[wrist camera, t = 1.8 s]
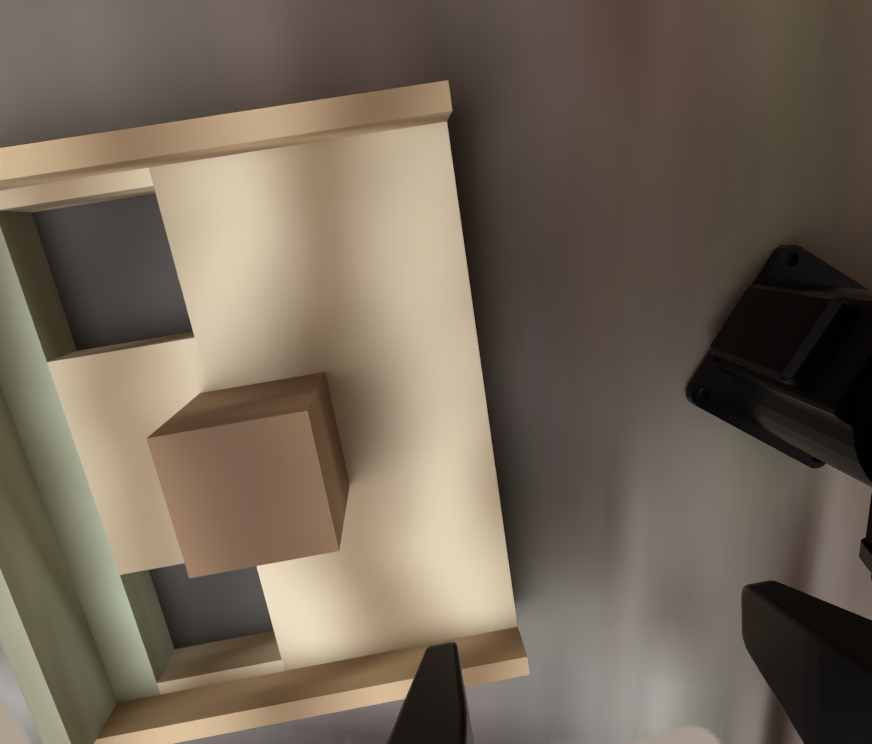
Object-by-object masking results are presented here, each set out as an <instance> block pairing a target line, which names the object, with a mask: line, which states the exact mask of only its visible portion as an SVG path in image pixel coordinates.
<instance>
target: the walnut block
mask: <svg viewBox="0 0 872 744" xmlns="http://www.w3.org/2000/svg"><path fill="white" fill-rule="evenodd" d="M146 439H147V442H148V445H149V449H150V452H151V455H152V458H153V462H154V465H155V468H156V472H157V475H158V478H159V481H160V485H161V488H162V491H163V494H164V498H165V501H166V504H167V507H168V511H169V514H170V517H171V520H172V524H173V527H174V530H175V533H176V537H177V540H178V543H179V546H180V550H181V553H182V556H183V559H184V563H185V566H186V569H187V573H188V576H189V578H194V577H200V576H205V575H211V574H216V573H222V572H227V571H233V570H238V569H244V568H249V567H254V566H260V565H265V564H271V563H276V562H282V561H287V560H293V559H298V558H304V557H309V556H315V555H320V554H326V553H331V552H337V551H339V549H340V543H341V537H342V531H343V525H344V518H345V512H346V506H347V500H348V493H349V487H350V484H349V480H348V475H347V470H346V465H345V461H344V456H343V451H342V447H341V442H340V437H339V433H338V428H337V423H336V419H335V414H334V409H333V405H332V400H331V395H330V390H329V386H328V381H327V376H326V372H321V373H315V374H310V375H304V376H298V377H292V378H286V379H280V380H274V381H268V382H263V383H257V384H251V385H245V386H239V387H233V388H227V389H221V390H216V391H210V392H204V393H199V394H198V395H197V396H196V397H195V398H193V399H192V400H191V401H190V402H189V403H188V404H186V405H185V406H184V407H183V408H182V409H180V410H179V411H178V412H177V413H176V414H175V415H173V416H172V417H171V418H170V419H169V420H167V421H166V422H165V423H164V424H163V425H162V426H160V427H159V428H158V429H157V430H156V431H154V432H153V433H152V434H151V435H150V436H149V437H147V438H146Z"/></svg>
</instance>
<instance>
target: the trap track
mask: <svg viewBox="0 0 872 744" xmlns="http://www.w3.org/2000/svg"><path fill="white" fill-rule="evenodd" d="M451 113H452V104H451V96H450V89H449V82H448V80H446V81H439V82H432V83H426V84H419V85H413V86H406V87H400V88H393V89H386V90H380V91H373V92H367V93H360V94H353V95H347V96H340V97H334V98H327V99H320V100H314V101H307V102H301V103H294V104H287V105H281V106H274V107H268V108H261V109H254V110H248V111H241V112H235V113H228V114H221V115H215V116H208V117H202V118H195V119H189V120H182V121H175V122H169V123H162V124H156V125H149V126H142V127H136V128H129V129H123V130H116V131H109V132H103V133H96V134H90V135H83V136H76V137H70V138H63V139H57V140H50V141H43V142H37V143H30V144H24V145H17V146H11V147H4V148H0V642H1V645H2V647H3V649H4V652H5V654H6V657H7V659H8V661H9V664H10V666H11V668H12V671H13V673H14V676H15V678H16V680H17V683H18V685H19V688H20V690H21V692H22V695H23V697H24V699H25V702H26V704H27V707H28V709H29V711H30V714H31V716H32V719H33V721H34V723H35V726H36V728H37V730H38V733H39V735H40V738H41V740H42V742H43V744H173V743H178V742H183V741H188V740H193V739H199V738H204V737H209V736H214V735H219V734H225V733H230V732H235V731H240V730H245V729H250V728H256V727H261V726H266V725H271V724H276V723H281V722H287V721H292V720H297V719H302V718H307V717H313V716H318V715H323V714H328V713H333V712H338V711H344V710H349V709H354V708H359V707H364V706H369V705H375V704H380V703H385V702H390V701H395V700H401V699H405V698H406V696H407V693H408V691H409V688H410V686H411V684H412V681H413V679H414V676H415V674H416V672H417V669H418V667H419V664H420V662H421V660H422V657H423V655H424V652H425V650H426V648H427V647H428V646H430V645H433V644H438V643H443V642H449V641H454V642H455V643H456V644H457V646H458V652H459V658H460V663H461V669H462V675H463V681H464V686H465V687H468V686H473V685H478V684H483V683H489V682H494V681H499V680H504V679H509V678H514V677H520V676H525V675H530V674H529V667H528V659H527V655H526V652H525V648H524V645H523V642H522V639H521V636H520V633H519V630H518V626H517V619H516V612H515V605H514V598H513V590H512V583H511V576H510V569H509V562H508V555H507V548H506V540H505V533H504V526H503V519H502V512H501V505H500V497H499V490H498V483H497V476H496V469H495V462H494V455H493V447H492V440H491V433H490V426H489V419H488V412H487V404H486V397H485V390H484V383H483V376H482V369H481V361H480V354H479V347H478V340H477V333H476V326H475V319H474V311H473V304H472V297H471V290H470V283H469V276H468V268H467V261H466V254H465V247H464V240H463V233H462V226H461V218H460V211H459V204H458V197H457V190H456V183H455V175H454V168H453V161H452V154H451V147H450V140H449V132H448V125H447V121H448V119H449V117H450V115H451ZM321 372H326V376H327V381H328V386H329V390H330V395H331V400H332V405H333V409H334V414H335V419H336V423H337V428H338V433H339V437H340V442H341V447H342V451H343V456H344V461H345V465H346V470H347V475H348V480H349V484H350V487H349V493H348V500H347V506H346V512H345V518H344V525H343V531H342V537H341V543H340V549H339V551H337V552H331V553H326V554H320V555H315V556H309V557H304V558H298V559H293V560H287V561H282V562H276V563H271V564H265V565H260V566H254V567H249V568H244V569H238V570H233V571H227V572H222V573H216V574H211V575H205V576H200V577H194V578H189V576H188V573H187V569H186V566H185V563H184V559H183V556H182V553H181V550H180V546H179V543H178V540H177V537H176V533H175V530H174V527H173V524H172V520H171V517H170V514H169V511H168V507H167V504H166V501H165V498H164V494H163V491H162V488H161V485H160V481H159V478H158V475H157V472H156V468H155V465H154V462H153V458H152V455H151V452H150V449H149V445H148V442H147V439H146V438H147V437H149V436H150V435H151V434H152V433H153V432H154V431H156V430H157V429H158V428H159V427H160V426H162V425H163V424H164V423H165V422H166V421H167V420H169V419H170V418H171V417H172V416H173V415H175V414H176V413H177V412H178V411H179V410H180V409H182V408H183V407H184V406H185V405H186V404H188V403H189V402H190V401H191V400H192V399H193V398H195V397H196V396H197V395H198V394H199V393H204V392H210V391H216V390H221V389H227V388H233V387H239V386H245V385H251V384H257V383H263V382H268V381H274V380H280V379H286V378H292V377H298V376H304V375H310V374H315V373H321Z"/></svg>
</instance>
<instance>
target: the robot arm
mask: <svg viewBox="0 0 872 744" xmlns="http://www.w3.org/2000/svg"><path fill="white" fill-rule="evenodd" d="M788 254H790V256H791V260H790V263H789V264H787V265H786V264H785V257H786V256H787V255H788ZM702 388H705V393H704V395H703V396H702V397H700V398H698V392H699V391H700V390H701V389H702ZM686 397H687V399H688V401H690V402H691V403H692V404H694V405H696V406H698V407H699V408H701V409H703V410H705V411H707V412H709V413H711V414H712V415H714V416H716V417H718V418H720V419H722V420H724V421H725V422H727V423H729V424H731V425H733V426H735V427H736V428H738V429H740V430H742V431H744V432H746V433H748V434H749V435H751V436H753V437H755V438H757V439H759V440H761V441H762V442H764V443H766V444H768V445H770V446H772V447H774V448H775V449H777V450H779V451H781V452H783V453H785V454H786V455H788V456H790V457H792V458H794V459H796V460H798V461H799V462H801V463H803V464H805V465H807V466H809V467H811V468H820V467H822V466H824V465H825V464H826V463H827V464H829V465H831V466H833V467H834V468H836V469H838V470H840V471H842V472H844V473H846V474H848V475H849V476H851V477H853V478H855V479H857V480H859V481H861V482H863V483H864V484H866V485H868V486H870V487H872V290H868V289H866V288H865V287H863V286H862V285H860V284H859V283H857V282H855V281H854V280H852V279H851V278H849V277H847V276H846V275H844V274H843V273H841V272H840V271H838V270H836V269H835V268H833V267H832V266H830V265H828V264H827V263H825V262H824V261H822V260H821V259H819V258H817V257H816V256H814V255H813V254H811V253H809V252H808V251H806V250H805V249H803V248H802V247H800V246H797V245H782V246H780V247H778V248H777V249H776V250H775V251H774V252H773V253H772V255H771V256H770V258H769V260H768V261H767V263H766V264H765V266H764V267H763V269H762V271H761V272H760V274H759V275H758V277H757V278H756V280H755V281H754V283H753V285H752V286H751V287H748V288H747V290H746V291H745V293H744V294H743V296H742V297H741V299H740V301H739V302H738V304H737V305H736V307H735V308H734V310H733V312H732V313H731V315H730V316H729V318H728V319H727V321H726V322H725V324H724V326H723V327H722V329H721V330H720V332H719V333H718V335H717V337H716V338H715V340H714V341H713V343H712V344H711V350H710V352H709V353H708V355H707V357H706V358H705V360H704V361H703V363H702V364H701V366H700V368H699V369H698V371H697V372H696V374H695V375H694V377H693V378H692V380H691V382H690V383H689V385H688V387H687V389H686ZM811 456H814V457H813V458H811ZM859 557H860V559H861V560H862V562H863V563H864V564H865V566H866V567H867V568H868V569H869V571H870V572H871V580H872V495H871V503H870V510H869V518H868V525H867V533H866V538H863V539H862V540H861V545H860V553H859ZM741 606H742V636H743V640H744V643H745V646H746V648H747V651H748V652H749V654H750V656H751V658H752V659H753V661H754V662H755V664H756V666H757V667H758V669H759V671H760V672H761V674H762V676H763V677H764V679H765V681H766V682H767V684H768V686H769V687H770V689H771V690H772V692H773V694H774V695H775V697H776V699H777V700H778V702H779V704H780V705H781V707H782V709H783V710H784V712H785V714H786V715H787V717H788V719H789V720H790V722H791V723H792V725H793V727H794V728H795V730H796V732H797V733H798V735H799V737H800V738H801V740H802V742H803V743H804V744H872V620H869V619H867V618H864V617H862V616H860V615H857V614H855V613H852V612H850V611H847V610H845V609H842V608H840V607H838V606H835V605H833V604H830V603H828V602H825V601H823V600H820V599H818V598H816V597H813V596H811V595H808V594H806V593H803V592H801V591H798V590H796V589H794V588H791V587H789V586H786V585H784V584H781V583H779V582H776V581H763V582H758V583H753V584H748V585H746V586H745V587H744V588H743V590H742V594H741ZM386 744H474V740H473V734H472V728H471V722H470V716H469V710H468V704H467V698H466V692H465V686H464V681H463V675H462V669H461V663H460V658H459V652H458V646H457V644H456V643H455V642H454V641H449V642H443V643H438V644H433V645H430V646H428V647H427V648H426V650H425V652H424V655H423V657H422V660H421V662H420V664H419V667H418V669H417V672H416V674H415V676H414V679H413V681H412V684H411V686H410V688H409V691H408V693H407V696H406V698H405V700H404V703H403V705H402V707H401V710H400V712H399V715H398V717H397V719H396V722H395V724H394V727H393V729H392V731H391V734H390V736H389V739H388V741H387V743H386Z"/></svg>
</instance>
